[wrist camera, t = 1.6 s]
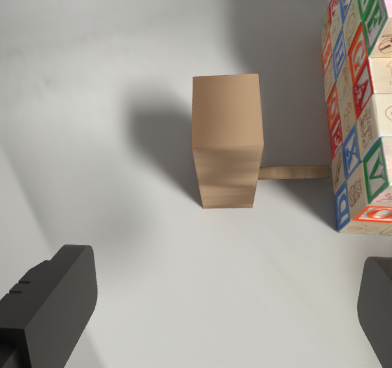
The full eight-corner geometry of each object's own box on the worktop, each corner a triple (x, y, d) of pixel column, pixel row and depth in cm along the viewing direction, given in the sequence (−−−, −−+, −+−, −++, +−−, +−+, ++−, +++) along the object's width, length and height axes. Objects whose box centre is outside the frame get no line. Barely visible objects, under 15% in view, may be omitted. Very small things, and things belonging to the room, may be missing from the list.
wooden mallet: (319, 151, 30) (360, 68, 21) (328, 206, 28) (377, 141, 19) (203, 154, 31) (192, 76, 22) (203, 208, 29) (191, 147, 19)
